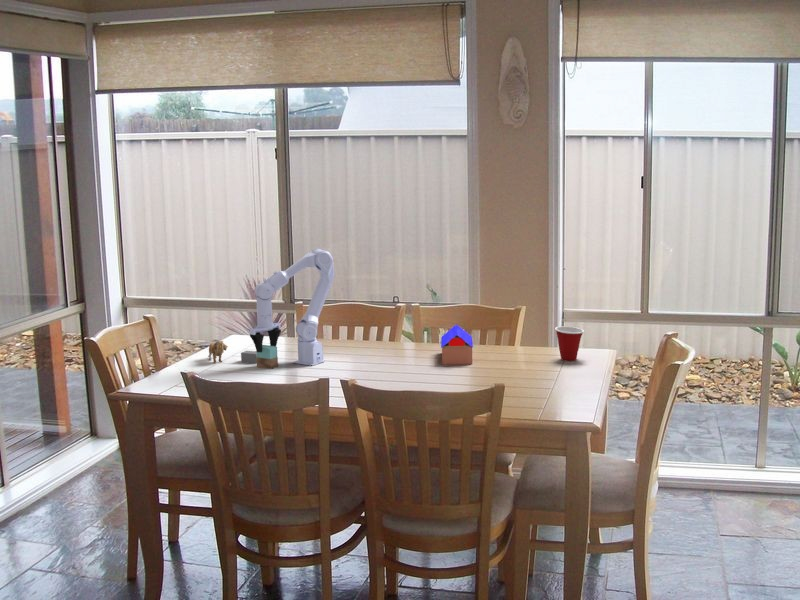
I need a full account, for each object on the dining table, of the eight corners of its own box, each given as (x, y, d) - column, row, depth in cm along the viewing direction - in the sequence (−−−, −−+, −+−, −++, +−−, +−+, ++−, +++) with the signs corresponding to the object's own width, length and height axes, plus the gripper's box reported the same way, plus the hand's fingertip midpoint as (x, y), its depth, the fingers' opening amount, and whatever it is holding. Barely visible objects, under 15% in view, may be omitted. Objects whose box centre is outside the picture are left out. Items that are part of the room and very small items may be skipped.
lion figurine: (229, 363, 347) (228, 340, 345) (217, 365, 344) (215, 342, 342) (214, 356, 359) (212, 334, 357) (201, 358, 356) (200, 336, 354)
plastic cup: (581, 363, 333) (582, 331, 331) (552, 361, 336) (552, 330, 334) (585, 356, 343) (585, 326, 341) (557, 355, 346) (557, 325, 344)
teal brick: (277, 356, 339) (276, 346, 338) (270, 359, 336) (269, 348, 335) (263, 354, 343) (263, 344, 342) (256, 357, 339) (256, 346, 339)
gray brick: (262, 361, 349) (261, 351, 348) (256, 364, 345) (256, 354, 345) (247, 360, 352) (246, 350, 351) (241, 362, 348) (240, 352, 347)
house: (441, 365, 336) (440, 334, 335) (441, 353, 356) (441, 324, 354) (473, 364, 336) (472, 334, 334) (471, 352, 355) (471, 324, 354)
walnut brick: (278, 366, 340) (277, 356, 339) (271, 369, 336) (271, 358, 336) (263, 365, 343) (262, 355, 342) (256, 367, 340) (256, 357, 339)
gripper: (270, 310, 345) (271, 345, 347) (243, 317, 333) (245, 352, 335) (283, 312, 341) (285, 347, 343) (257, 318, 329) (258, 354, 331)
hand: (266, 350), depth 339 cm, fingers open, 7 cm apart
